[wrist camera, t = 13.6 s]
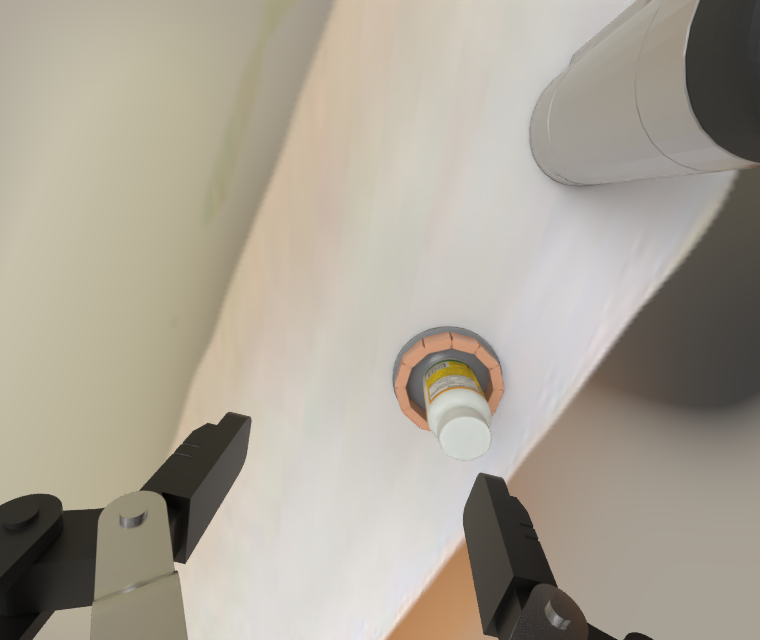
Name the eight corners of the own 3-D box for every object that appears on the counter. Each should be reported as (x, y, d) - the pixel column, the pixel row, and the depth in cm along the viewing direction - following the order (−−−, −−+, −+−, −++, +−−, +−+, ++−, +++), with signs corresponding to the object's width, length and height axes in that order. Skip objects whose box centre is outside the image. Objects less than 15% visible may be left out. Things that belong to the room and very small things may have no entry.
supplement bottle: (429, 350, 36) (441, 400, 26) (482, 362, 36) (511, 416, 27) (415, 397, 37) (422, 459, 28) (465, 408, 37) (488, 474, 28)
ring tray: (409, 314, 35) (410, 322, 33) (515, 342, 36) (524, 352, 33) (381, 407, 39) (380, 421, 36) (478, 433, 39) (483, 448, 37)
